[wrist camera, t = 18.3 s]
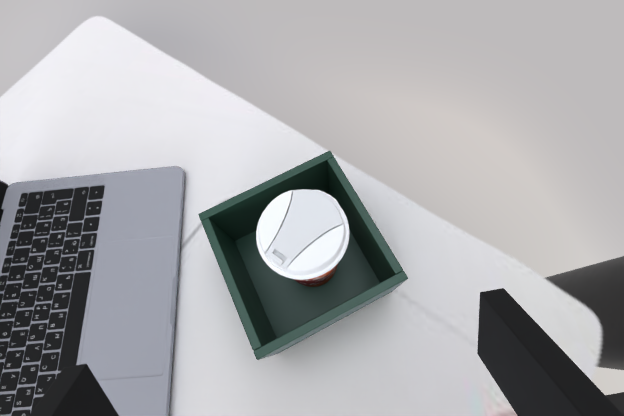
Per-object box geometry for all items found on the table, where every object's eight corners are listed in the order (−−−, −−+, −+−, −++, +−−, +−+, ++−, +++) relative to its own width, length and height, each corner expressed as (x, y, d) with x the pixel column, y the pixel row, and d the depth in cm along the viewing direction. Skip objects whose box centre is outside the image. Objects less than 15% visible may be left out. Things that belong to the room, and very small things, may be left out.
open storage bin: (391, 291, 38) (408, 278, 29) (276, 353, 37) (256, 360, 28) (331, 189, 43) (330, 150, 34) (228, 240, 42) (198, 214, 33)
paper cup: (320, 310, 37) (310, 298, 24) (267, 270, 39) (232, 238, 26) (359, 254, 39) (370, 215, 26) (307, 218, 41) (293, 165, 28)
